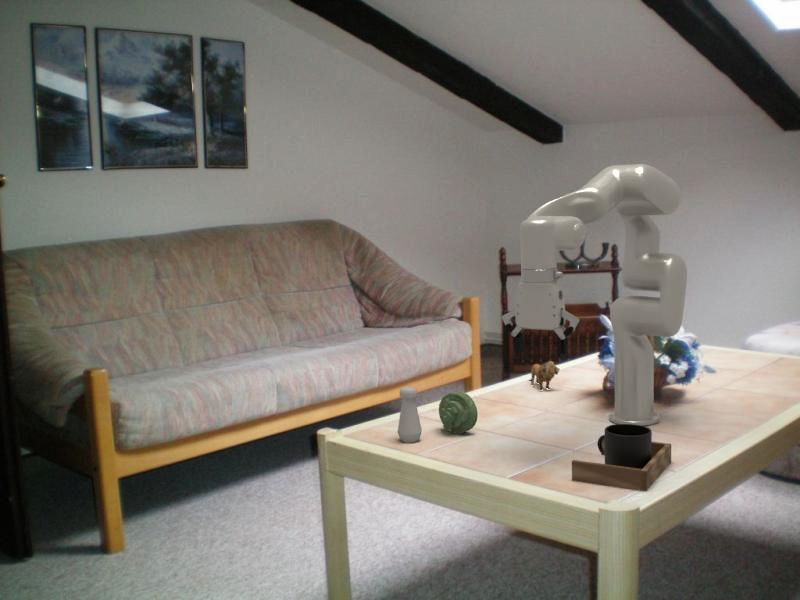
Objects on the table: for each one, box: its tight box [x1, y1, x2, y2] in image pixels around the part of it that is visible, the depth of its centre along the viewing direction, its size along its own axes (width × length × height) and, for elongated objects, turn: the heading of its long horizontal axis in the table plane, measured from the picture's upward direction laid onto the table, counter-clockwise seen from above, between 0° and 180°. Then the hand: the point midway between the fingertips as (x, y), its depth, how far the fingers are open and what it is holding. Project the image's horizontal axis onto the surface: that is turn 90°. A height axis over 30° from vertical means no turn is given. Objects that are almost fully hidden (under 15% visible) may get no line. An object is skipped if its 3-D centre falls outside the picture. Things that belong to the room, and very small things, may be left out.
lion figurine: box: [528, 360, 561, 390], centre depth 257 cm, size 15×5×9 cm, turn 22°
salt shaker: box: [397, 386, 423, 444], centre depth 208 cm, size 6×6×13 cm
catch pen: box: [571, 439, 672, 492], centre depth 181 cm, size 20×15×4 cm
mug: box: [597, 423, 653, 469], centre depth 181 cm, size 9×12×9 cm
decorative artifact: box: [438, 391, 478, 435], centre depth 212 cm, size 10×7×10 cm
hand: (540, 355), depth 188 cm, fingers open, 9 cm apart
